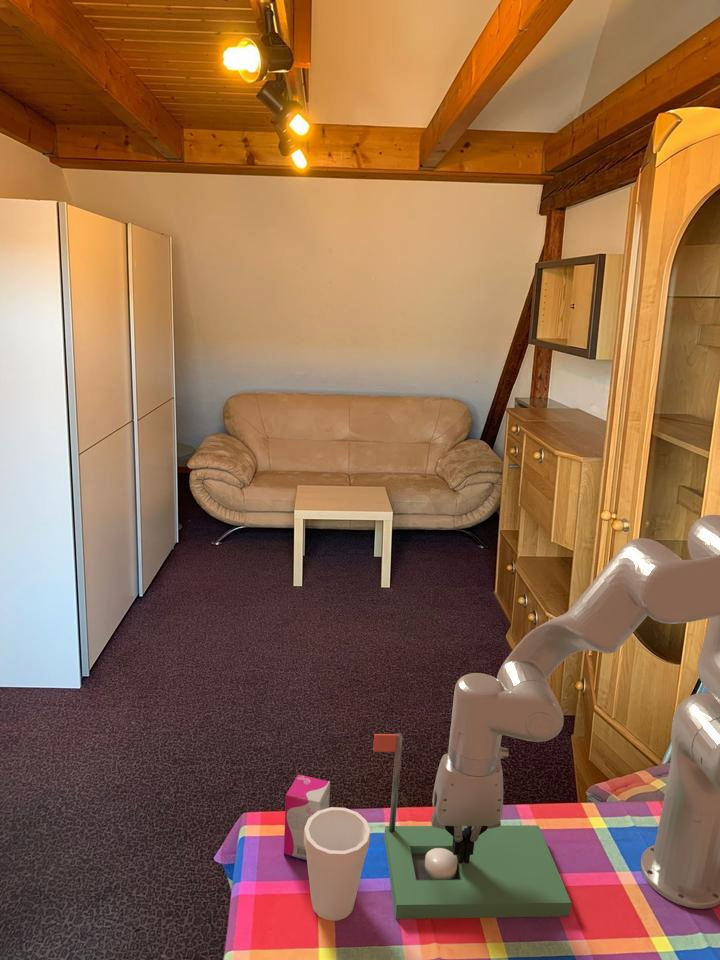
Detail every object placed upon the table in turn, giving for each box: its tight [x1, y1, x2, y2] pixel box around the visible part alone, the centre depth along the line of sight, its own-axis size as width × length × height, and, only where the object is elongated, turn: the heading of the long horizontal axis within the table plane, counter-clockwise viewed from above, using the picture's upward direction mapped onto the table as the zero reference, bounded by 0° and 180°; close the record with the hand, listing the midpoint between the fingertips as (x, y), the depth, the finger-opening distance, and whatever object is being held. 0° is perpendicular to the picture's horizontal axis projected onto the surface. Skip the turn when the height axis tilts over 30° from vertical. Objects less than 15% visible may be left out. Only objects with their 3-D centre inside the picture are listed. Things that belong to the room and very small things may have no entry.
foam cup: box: [304, 806, 371, 922], centre depth 110 cm, size 10×9×13 cm
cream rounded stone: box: [424, 848, 457, 880], centre depth 117 cm, size 5×5×2 cm
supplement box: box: [283, 774, 331, 863], centre depth 120 cm, size 6×6×12 cm
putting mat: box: [372, 732, 572, 920], centre depth 115 cm, size 29×16×20 cm, turn 94°
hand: (461, 856), depth 117 cm, fingers closed
